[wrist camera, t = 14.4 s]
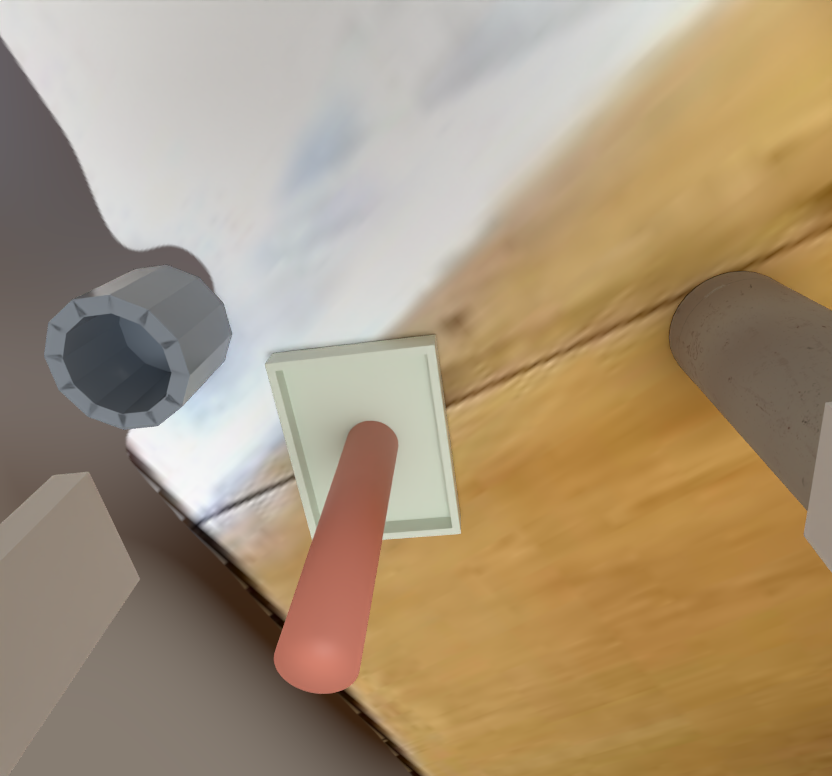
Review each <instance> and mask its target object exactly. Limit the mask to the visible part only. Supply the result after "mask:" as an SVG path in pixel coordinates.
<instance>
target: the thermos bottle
mask: <svg viewBox="0 0 832 776" xmlns="http://www.w3.org/2000/svg"><path fill="white" fill-rule="evenodd" d="M669 340H670V348H671V351H672V353H673V356H674V358H675V360H676V361H677V363H678V364H679V365H680V367H681V368H682V369H683V370H684V371H685V373H686V374H687V375H688V376H689V377H690V378H691V380H692V381H693V382H694V383H695V384H696V385H697V386H698V387H699V388H700V389H701V391H702V392H703V393H704V394H705V395H706V396H707V397H708V399H709V400H710V401H711V402H712V403H713V404H714V405H715V407H716V408H717V409H718V410H719V411H720V412H721V413H722V414H723V416H724V417H725V418H726V419H727V420H728V421H729V422H730V424H731V425H732V426H733V427H734V428H735V429H736V430H737V432H738V433H739V434H740V435H741V436H742V437H743V438H744V439H745V441H746V442H747V443H748V444H749V445H750V446H751V447H752V449H753V450H754V451H755V452H756V453H757V454H758V455H759V456H760V458H761V459H762V460H763V461H764V462H765V463H766V464H767V466H768V467H769V468H770V469H771V470H772V471H773V472H774V474H775V475H776V476H777V477H778V478H779V479H780V480H781V481H782V483H783V484H784V485H785V486H786V487H787V488H788V489H789V491H790V492H791V493H792V494H793V495H794V496H795V497H796V498H797V500H798V501H799V502H800V503H801V504H802V505H803V506H804V508H805V509H806V510H807V511H808V506H809V500H810V494H811V488H812V482H813V475H814V469H815V463H816V457H817V451H818V445H819V439H820V433H821V427H822V421H823V414H824V408H825V403H826V402H832V310H830V309H828V308H826V307H824V306H822V305H820V304H818V303H816V302H815V301H813V300H811V299H809V298H807V297H805V296H803V295H801V294H799V293H797V292H796V291H794V290H792V289H790V288H788V287H786V286H784V285H782V284H780V283H779V282H777V281H775V280H773V279H771V278H769V277H767V276H765V275H761V274H758V273H755V272H747V271H739V272H729V273H726V274H722V275H718V276H716V277H714V278H711V279H709V280H707V281H705V282H704V283H702V284H701V285H699V286H698V287H696V288H695V289H694V290H693V291H692V292H691V293H690V294H688V295H687V296H686V298H685V299H684V300H683V301H682V303H681V304H680V305H679V307H678V309H677V311H676V313H675V315H674V316H673V320H672V323H671V326H670V335H669Z"/></svg>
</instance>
